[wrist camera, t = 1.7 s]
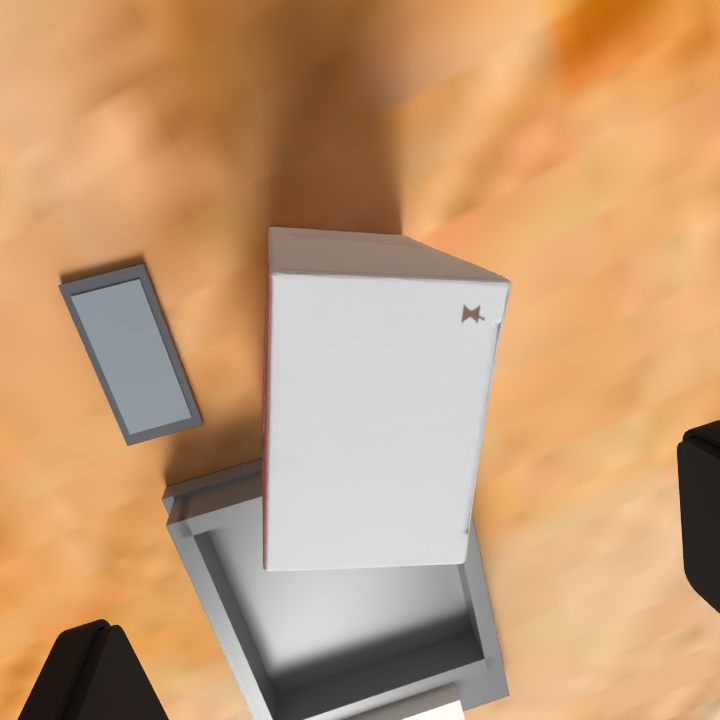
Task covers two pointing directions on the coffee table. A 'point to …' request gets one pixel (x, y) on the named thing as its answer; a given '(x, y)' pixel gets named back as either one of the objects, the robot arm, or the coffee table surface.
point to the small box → (373, 399)
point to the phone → (133, 353)
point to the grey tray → (333, 618)
